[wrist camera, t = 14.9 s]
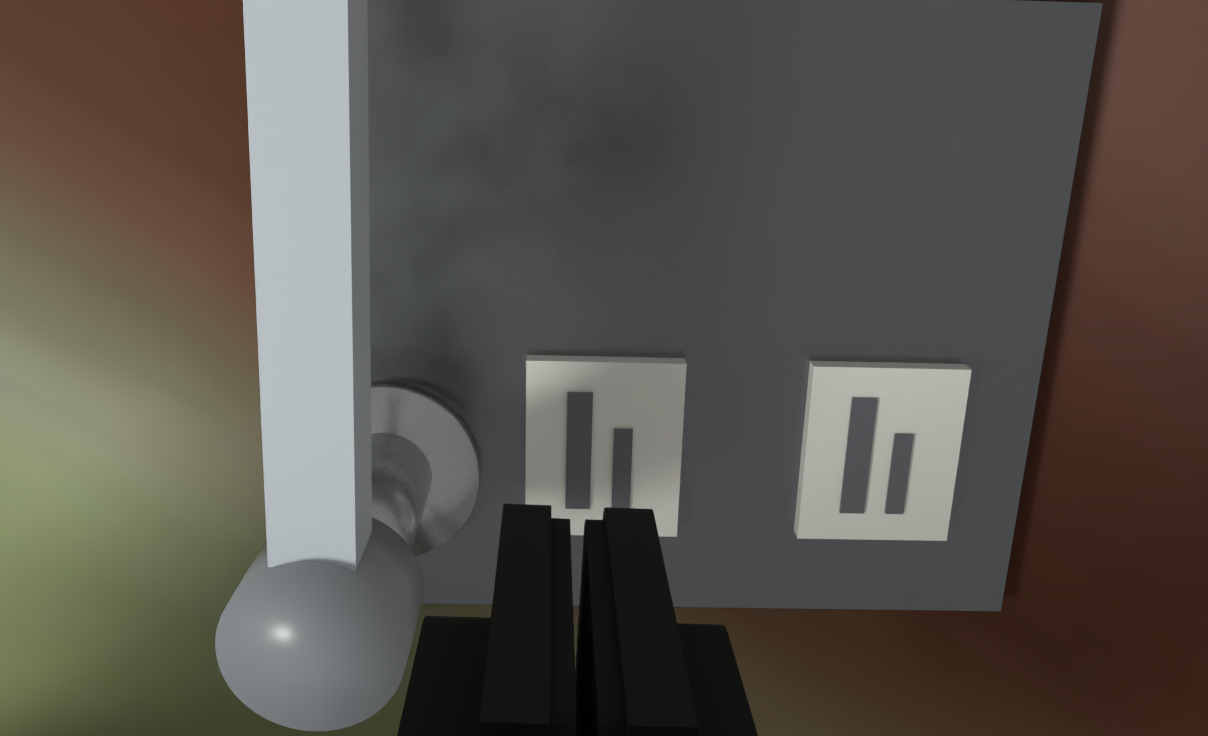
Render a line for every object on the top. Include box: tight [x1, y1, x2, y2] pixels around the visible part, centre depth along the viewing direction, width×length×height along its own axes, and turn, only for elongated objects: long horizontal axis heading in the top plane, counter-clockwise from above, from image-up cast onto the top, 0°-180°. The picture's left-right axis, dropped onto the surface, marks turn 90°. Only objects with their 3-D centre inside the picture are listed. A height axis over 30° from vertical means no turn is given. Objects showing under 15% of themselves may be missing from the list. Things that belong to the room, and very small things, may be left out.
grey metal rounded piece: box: [371, 382, 481, 556], centre depth 31 cm, size 6×6×7 cm
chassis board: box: [367, 0, 1103, 611], centre depth 34 cm, size 20×24×1 cm
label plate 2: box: [794, 361, 972, 541], centre depth 34 cm, size 6×5×1 cm
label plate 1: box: [525, 355, 687, 537], centre depth 34 cm, size 6×5×1 cm
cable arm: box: [215, 0, 424, 731], centre depth 23 cm, size 24×4×3 cm, turn 177°
